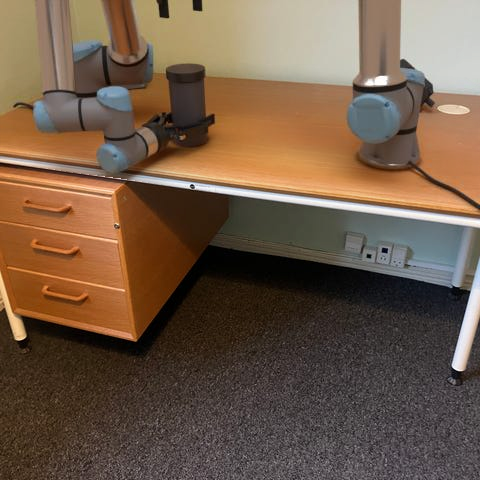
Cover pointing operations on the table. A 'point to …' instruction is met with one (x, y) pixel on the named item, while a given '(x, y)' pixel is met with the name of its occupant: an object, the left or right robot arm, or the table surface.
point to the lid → (185, 72)
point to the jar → (188, 107)
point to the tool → (426, 90)
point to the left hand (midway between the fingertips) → (197, 115)
